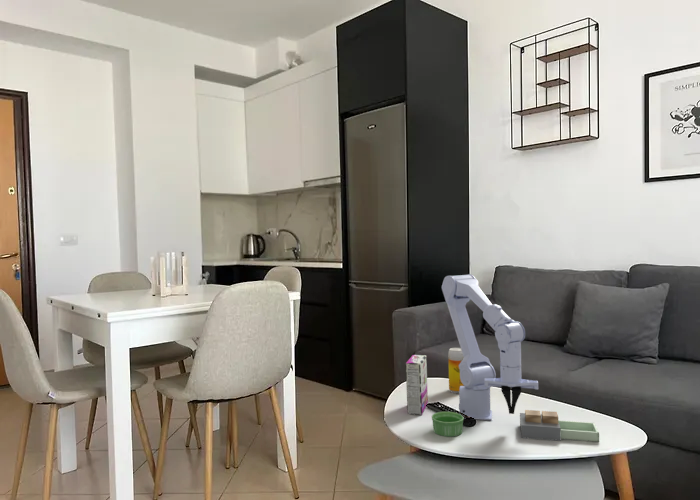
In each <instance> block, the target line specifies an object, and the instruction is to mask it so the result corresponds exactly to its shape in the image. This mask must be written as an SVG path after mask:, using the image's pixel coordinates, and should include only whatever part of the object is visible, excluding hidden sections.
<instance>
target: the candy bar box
mask: <svg viewBox="0 0 700 500" xmlns="http://www.w3.org/2000/svg"><path fill="white" fill-rule="evenodd" d="M427 363H428V362H427V355H425V354H424V355H422V354H412V355H411V357H410V358H409V359H408V360H407V361H406V362H405V380H406V381H405V382H406V405H407V406H406V409H407V410H406V412H407V415H414V414H415V415H416V416H419V415H420V416H422V415H423V413H424V412H425V409H426V408H427V406H428V405H427V403H428V404H429V400H428V399H429V397H428V366H427ZM426 405H427V406H426Z"/></svg>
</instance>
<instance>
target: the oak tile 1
mask: <svg viewBox="0 0 700 500" xmlns="http://www.w3.org/2000/svg"><path fill="white" fill-rule="evenodd" d="M524 413H525V419H526V422H538V423H541V414H542V413H541V411H540V410H532V409H525V410H524Z"/></svg>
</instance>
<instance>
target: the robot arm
mask: <svg viewBox="0 0 700 500" xmlns="http://www.w3.org/2000/svg"><path fill="white" fill-rule="evenodd" d="M441 291H442V294H443V297H444V300H445V303H446V304H447V308H448V311H449V315H450V318H451V320H452V324H453V327H454V331H455V334H456V337H457V340H458V343H459V348H461V350H462V353H463V357H464V358H463V360H462V361H461V363H460V364H459V369H460V379H461V382H462V383H463V385H464V386H460V390H459V393H458V394H459V395H458V396H459V397H458V399H459V404H458V410H459V413H460V412H461V413H463V414H465V415H467V416H470V417H472V418H474V419H473V420H483V421H492V420H493V411H492V409H491V388H492V387H496V388H497V387H498V388H501V393H502V395H503V398H504V399H505V402H506V405H507V408H508V409H507V410H508V414H509V415H511V414H512V415H514V414H515V409H516V405H517V402H518V400H519V398H520V395H521V394H522V389H534V390H539V381H538V380H534V379H533V380H532V379H523V378H522V342H523V341H524V340H525V339H526V329H525V327H524V325H523V323H521V322H520V321H516V320H514V319H512V318H511V317H510V316H509V315H508V314H507V313H506V312H505V311H504V310H503V308H502V306H501V305H498V304H496V303H494V304H492V302H491V300H489V298H488V297H487V296H486V294H485V293H484V291H482V289H481V288H480V284H479V280H478V279H477V278H476V277H475V276H474V275H473V274H471V273H468V274H462V275H461V274H460V275H446V276H445V277H444V278H443V281H442V285H441ZM470 301H472V302H473V303H474V304H475V305H476V307H478V308H479V309H480V310H481V311H482V312H483V313H482V317H483V319H484V320H485V321H486V322H487V324H488V325H489V326H490V328H492V329H493V331H494V336H495V340H496V341H497V347H498V349H499V365H500V366H499V370H500V373H499V374H500V377H496V376H497V374H496V370H495V368H494V366H493V365H492V363H491V362H490V358H489V357H487V356H485V355H484V354H482V353H481V350H480V347H479V344H478V341H477V338H476V335H475V332H474V331H475V330H474V327H473V326H472V322H471V320H470V317H469V314H468V311H467V310H468V309H467V308H466V305H467V303H469V302H470Z"/></svg>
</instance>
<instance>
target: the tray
mask: <svg viewBox="0 0 700 500" xmlns="http://www.w3.org/2000/svg"><path fill="white" fill-rule="evenodd" d="M558 422H559V425H560V428H561V440H569V441H570V440H571V441H582V442H595V443H600V431H599V430H598V427H597V425H596V424H595V422H588V421H587V422H586V421H573V420H572V421H571V420H559V419H558Z"/></svg>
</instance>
